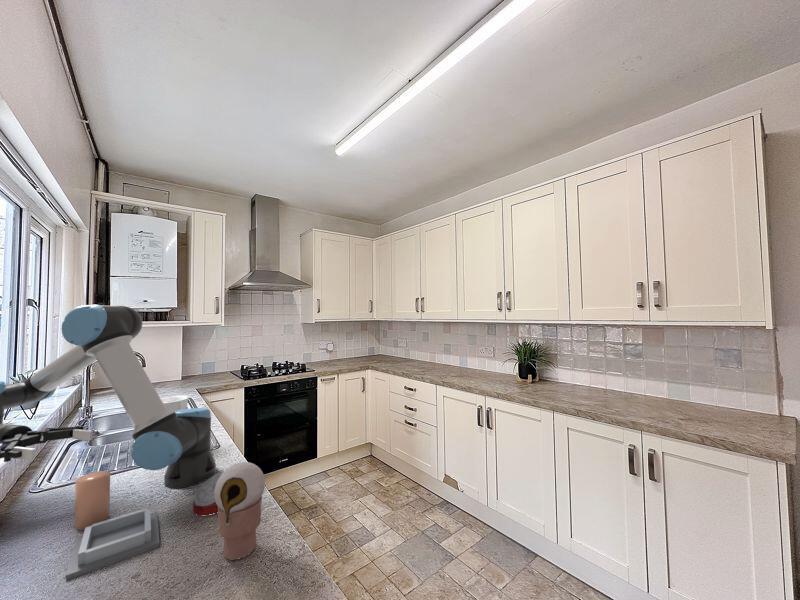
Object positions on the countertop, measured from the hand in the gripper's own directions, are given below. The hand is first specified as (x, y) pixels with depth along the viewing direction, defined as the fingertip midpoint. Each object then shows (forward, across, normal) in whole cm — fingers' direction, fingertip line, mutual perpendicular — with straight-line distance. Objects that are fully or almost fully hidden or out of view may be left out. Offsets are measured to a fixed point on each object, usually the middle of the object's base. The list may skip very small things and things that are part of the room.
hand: (64, 444), depth 92 cm
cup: (-8, -43, -20) cm, 48 cm away
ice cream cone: (+58, +3, -19) cm, 61 cm away
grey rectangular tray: (+27, +6, -19) cm, 33 cm away
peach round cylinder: (+11, 0, -20) cm, 23 cm away
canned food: (+38, -12, -19) cm, 44 cm away
